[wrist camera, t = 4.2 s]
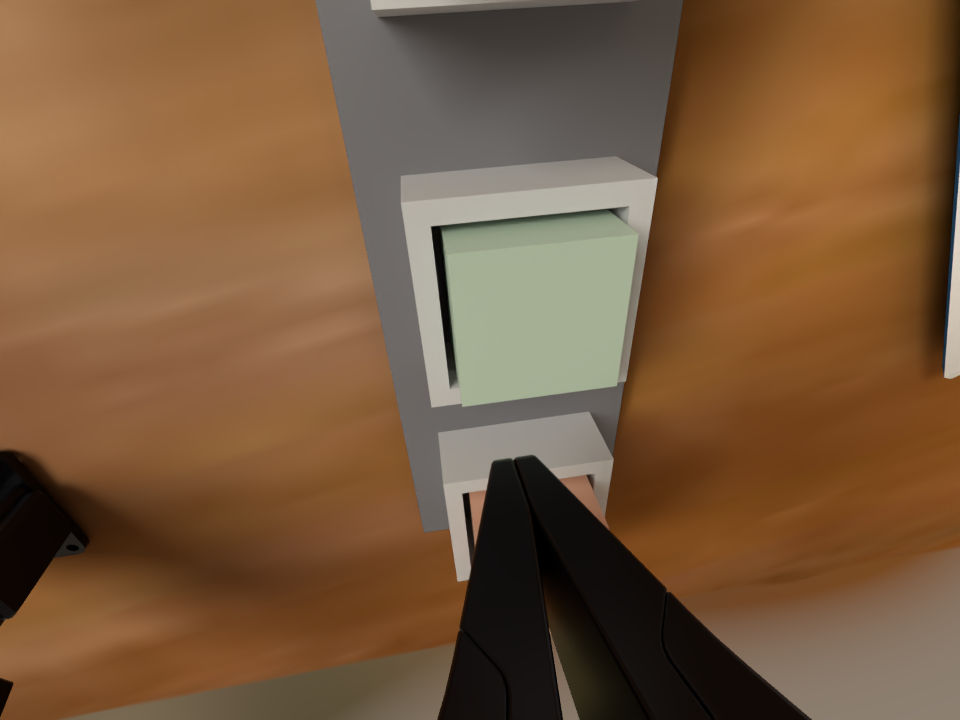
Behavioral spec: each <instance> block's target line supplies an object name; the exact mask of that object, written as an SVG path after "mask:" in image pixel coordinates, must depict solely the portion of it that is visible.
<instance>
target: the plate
mask: <svg viewBox="0 0 960 720" xmlns="http://www.w3.org/2000/svg"><path fill="white" fill-rule="evenodd" d="M942 368H943V374H944V378H949V379H952V378H954V377H956V376H958V375H960V116H959V131H958V145H957V160H956V174H955V188H954V203H953V217H952V232H951V246H950V261H949V275H948V290H947V304H946V318H945V333H944V347H943V362H942Z"/></svg>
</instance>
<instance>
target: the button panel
mask: <svg viewBox="0 0 960 720" xmlns="http://www.w3.org/2000/svg"><path fill="white" fill-rule="evenodd" d="M316 5H317V10H318V15H319V20H320V25H321V30H322V35H323V39H324V44H325V49H326V54H327V59H328V64H329V69H330V74H331V79H332V84H333V89H334V93H335V98H336V103H337V108H338V113H339V118H340V123H341V128H342V133H343V138H344V143H345V147H346V152H347V157H348V162H349V167H350V172H351V177H352V182H353V187H354V192H355V197H356V201H357V206H358V211H359V216H360V221H361V226H362V231H363V236H364V241H365V246H366V250H367V255H368V260H369V265H370V270H371V275H372V280H373V285H374V290H375V295H376V300H377V304H378V309H379V314H380V319H381V324H382V329H383V334H384V339H385V344H386V349H387V353H388V358H389V363H390V368H391V373H392V378H393V383H394V388H395V393H396V398H397V403H398V407H399V412H400V417H401V422H402V427H403V432H404V437H405V442H406V447H407V452H408V457H409V461H410V466H411V471H412V476H413V481H414V486H415V491H416V496H417V501H418V506H419V511H420V515H421V520H422V525H423V530H424V533H425V532H432V531H438V530H444V529H450V533H451V540H452V547H453V553H454V560H455V567H456V573H457V580H458V581H464V580H469V576H470V570H471V565H472V560H473V555H474V550H475V546H474V536H473V527H472V517H471V507H470V498H469V492H476V491H482V490H486V489H487V484H488V479H489V474H490V468H491V464H492V462H493V461H494V460H498V459H505V458H512V459H513V460H514V458H515V457H519V456H525V455H535V456H536V457H537V458H538V459H539V460H540V461H541V462H542V463H543V464H544V465H545V466H546V467H547V468H548V469H549V470H550V471H551V472H552V473H553V474H554V475H555V476H556V477H557V478H558V479H562V478H568V477H575V476H582V475H586V476H587V478H588V480H589V483H590V485H591V487H592V489H593V492H594V494H595V496H596V499H597V501H598V503H599V506H600V508H601V510H602V513H603V515H604V517H605V512H606V505H607V499H608V492H609V486H610V480H611V473H612V467H613V461H614V459H613V452H614V445H615V439H616V433H617V426H618V420H619V413H620V407H621V400H622V394H623V387H624V382H625V381H626V378H627V372H628V365H629V359H630V352H631V346H632V340H633V333H634V327H635V321H636V314H637V308H638V301H639V295H640V289H641V282H642V276H643V270H644V263H645V257H646V251H647V244H648V238H649V231H650V225H651V219H652V212H653V206H654V200H655V193H656V187H657V181H658V178H657V177H656V174H657V168H658V161H659V155H660V148H661V142H662V135H663V129H664V122H665V116H666V109H667V103H668V96H669V90H670V83H671V77H672V71H673V64H674V58H675V51H676V45H677V38H678V32H679V25H680V19H681V12H682V6H683V0H316ZM598 209H608V210H609V211H610V212H612V213H613V214H614V215H615V216H617V217H618V218H619V219H620V220H622V221H623V222H624V223H625V224H627V225H628V226H629V227H630V228H632V229H633V230H634V231H636V232H637V233H638V234H639V236H638V243H637V250H636V257H635V264H634V271H633V278H632V284H631V291H630V298H629V305H628V312H627V319H626V326H625V333H624V340H623V347H622V354H621V361H620V368H619V375H618V382H617V386H613V387H606V388H599V389H591V390H584V391H576V392H569V393H562V394H554V395H547V396H540V397H532V398H525V399H517V400H510V401H503V402H495V403H488V404H480V405H473V406H466V407H462V402H461V396H460V390H459V384H458V379H457V373H456V367H455V361H454V355H453V350H452V344H451V337H450V327H449V318H448V309H447V300H446V290H445V281H444V272H443V262H442V253H441V244H440V234H439V225H449V224H459V223H469V222H479V221H489V220H499V219H508V218H518V217H528V216H538V215H548V214H558V213H568V212H578V211H588V210H598Z"/></svg>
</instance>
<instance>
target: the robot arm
mask: <svg viewBox="0 0 960 720" xmlns="http://www.w3.org/2000/svg"><path fill="white" fill-rule="evenodd" d="M89 542H90V541H89V539H88V538H87V537H86V535H85V534H84V533H83V532H82V531H81V530H80V529H79V528H78V526H77V525H76V524H75V523H74V522H73V521H72V520H71V519H70V518H69V516H68V515H67V514H66V513H65V512H64V511H63V510H62V509H61V507H60V506H59V505H58V504H57V503H56V502H55V501H54V500H53V498H52V497H51V496H50V495H49V494H48V493H47V492H46V491H45V490H44V488H43V487H42V486H41V485H40V484H39V483H38V482H37V481H36V479H35V478H34V477H33V476H32V475H31V474H30V473H29V472H28V471H27V469H26V468H25V467H24V466H23V465H22V464H21V463H20V462H19V460H18V459H17V458H15V457H14V456H13V455H11V454H9V453H5V452H0V626H1V625H2V623H3V622H4V620H5V619H10V618H12V617H13V616H14V615H15V614H16V613H17V611H18V610H19V609H20V607H21V606H22V604H23V603H24V601H25V600H26V598H27V597H28V595H29V594H30V592H31V591H32V589H33V588H34V586H35V585H36V583H37V582H38V580H39V579H40V577H41V576H42V574H43V573H44V571H45V570H46V569H47V567H48V566H49V564H50V563H51V561H52V560H53V558H55V557H62V556H68V555H75V554H80V553H83V552H84V551H85V550H86V548H87V546H88V545H89ZM549 629H550V631H549ZM550 632H551V635H552V638H553V641H554V644H555V647H556V650H557V653H558V656H559V659H560V662H561V665H562V668H563V671H564V674H565V677H566V680H567V683H568V686H569V689H570V691H571V695H572V698H573V700H574V704H575V707H576V710H577V713H578V716H579V719H580V720H812V719H811V718H809V717H808V716H807V715H806V714H805V713H803V712H802V711H801V710H800V709H799V708H797V707H796V706H795V705H794V704H793V703H792V702H790V701H789V700H788V699H787V698H786V697H784V696H783V695H782V694H781V693H780V692H779V691H778V690H776V689H775V688H774V687H773V686H772V685H770V684H769V683H768V682H767V681H766V680H765V679H763V678H762V677H761V676H760V675H759V674H758V673H756V672H755V671H754V670H753V669H752V668H751V667H749V666H748V665H747V664H746V663H745V662H744V661H743V660H741V659H740V658H739V657H738V656H737V655H735V653H733V652H732V651H731V650H730V649H729V648H728V647H727V646H726V645H724V644H723V643H722V642H721V641H720V640H719V639H718V638H716V636H714V635H713V634H712V633H711V632H710V631H709V630H708V629H707V628H706V627H705V626H704V625H703V624H702V623H701V622H700V621H699V620H698V619H697V618H696V617H695V616H694V615H693V614H692V613H691V612H690V611H689V610H687V608H686V607H685V606H684V605H683V604H682V603H681V602H680V601H679V600H678V599H677V598H676V597H675V596H674V595H673V594H672V593H671V592H667V589H666V587H665V586H664V585H663V584H662V583H661V582H660V581H659V580H658V579H657V578H656V577H655V576H654V575H653V574H652V573H651V572H650V571H649V570H648V569H647V568H646V567H645V566H644V565H643V564H642V563H641V562H640V561H639V560H638V559H637V558H636V557H635V556H634V555H633V554H632V553H631V552H630V551H629V550H628V549H627V548H626V547H625V546H624V545H623V544H622V543H621V542H620V541H619V540H618V539H617V538H616V537H615V536H614V535H613V534H612V533H611V531H610V530H609V529H608V528H607V527H606V526H605V525H604V524H603V523H602V522H601V521H600V520H599V519H598V518H597V517H596V516H595V515H594V514H593V513H592V512H591V511H590V510H589V509H588V508H587V507H586V506H585V505H584V504H583V503H582V502H581V501H580V500H579V499H578V498H577V497H576V496H575V495H574V494H573V493H572V492H571V491H570V490H569V489H568V488H567V487H566V486H565V485H564V484H563V483H562V482H561V481H560V480H559V479H558V478H557V477H556V476H555V475H554V474H553V473H552V472H551V471H550V470H549V469H548V468H547V467H546V466H545V465H544V464H543V463H542V462H541V461H540V460H539V459H538V458H537V457H536V456H535V455H525V456H519V457H515V458H514V460H513V459H512V458H505V459H498V460H494V461H493V462H492V464H491V468H490V474H489V479H488V484H487V489H486V494H485V499H484V504H483V509H482V514H481V519H480V525H479V530H478V535H477V540H476V545H475V550H474V555H473V560H472V565H471V570H470V576H469V581H468V586H467V591H466V596H465V601H464V606H463V611H462V616H461V621H460V631H459V632H458V635H457V640H456V646H455V651H454V656H453V660H452V665H451V669H450V673H449V678H448V682H447V686H446V691H445V695H444V698H443V702H442V706H441V708H440V712H439V715H438V719H437V720H563V717H562V710H561V704H560V697H559V691H558V684H557V677H556V671H555V664H554V657H553V652H552V645H551V638H550ZM12 686H13V682H11V681H8V680H5V679H2V678H0V716H1V714H2V711H3V709H4V706H5V704H6V701H7V699H8V696H9V694H10V691H11V689H12Z"/></svg>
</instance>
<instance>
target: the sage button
mask: <svg viewBox="0 0 960 720" xmlns="http://www.w3.org/2000/svg"><path fill="white" fill-rule="evenodd" d="M439 234H440V244H441V253H442V262H443V272H444V281H445V290H446V300H447V309H448V318H449V327H450V337H451V344H452V350H453V355H454V361H455V367H456V373H457V379H458V384H459V390H460V396H461V402H462V407H466V406H473V405H480V404H488V403H495V402H503V401H510V400H517V399H525V398H532V397H540V396H547V395H554V394H562V393H569V392H576V391H584V390H591V389H599V388H606V387H613V386H617V382H618V375H619V368H620V361H621V354H622V347H623V340H624V333H625V326H626V319H627V312H628V305H629V298H630V291H631V284H632V278H633V271H634V264H635V257H636V250H637V243H638V236H639V234H638V233H637V232H636V231H634V230H633V229H632V228H630V227H629V226H628V225H627V224H625V223H624V222H623V221H622V220H620V219H619V218H618V217H617V216H615V215H614V214H613V213H612V212H610V211H609V210H608V209H598V210H588V211H578V212H568V213H558V214H548V215H538V216H528V217H518V218H508V219H499V220H489V221H479V222H469V223H459V224H449V225H439Z"/></svg>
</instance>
